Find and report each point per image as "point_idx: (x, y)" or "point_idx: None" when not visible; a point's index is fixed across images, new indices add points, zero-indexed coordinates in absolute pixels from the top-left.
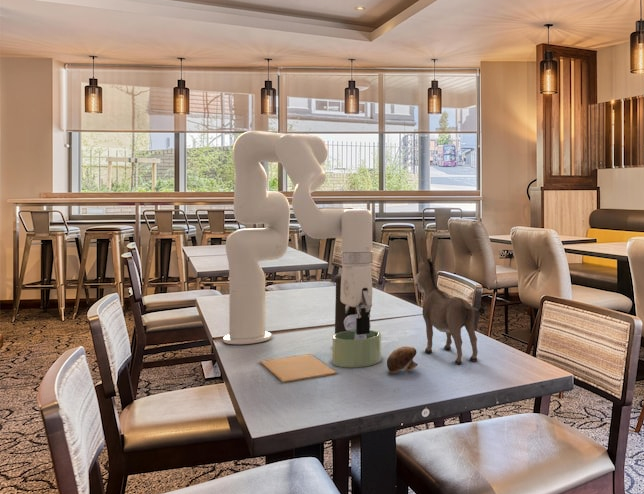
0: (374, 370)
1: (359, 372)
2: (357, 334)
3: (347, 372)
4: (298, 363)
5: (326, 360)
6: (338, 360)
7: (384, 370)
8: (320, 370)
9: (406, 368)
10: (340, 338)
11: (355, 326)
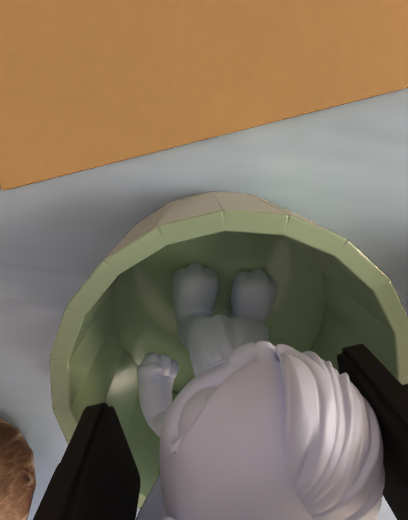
0: (30, 357)
1: (11, 295)
2: (94, 405)
3: (25, 243)
4: None
5: (300, 165)
6: (147, 218)
7: (20, 393)
8: (56, 107)
9: None
10: (349, 273)
11: (162, 441)
